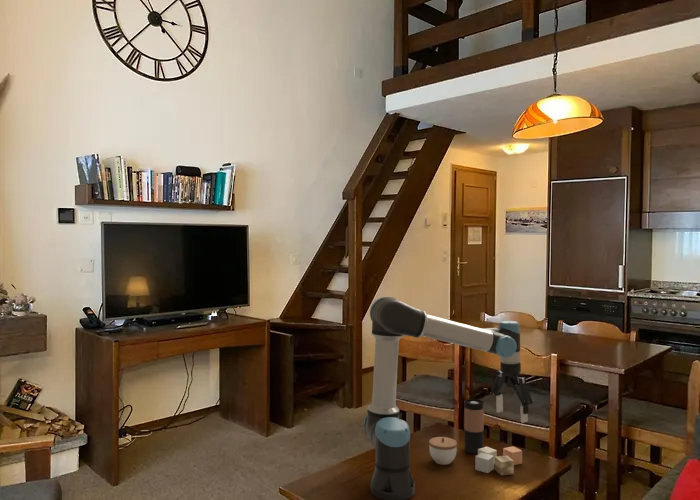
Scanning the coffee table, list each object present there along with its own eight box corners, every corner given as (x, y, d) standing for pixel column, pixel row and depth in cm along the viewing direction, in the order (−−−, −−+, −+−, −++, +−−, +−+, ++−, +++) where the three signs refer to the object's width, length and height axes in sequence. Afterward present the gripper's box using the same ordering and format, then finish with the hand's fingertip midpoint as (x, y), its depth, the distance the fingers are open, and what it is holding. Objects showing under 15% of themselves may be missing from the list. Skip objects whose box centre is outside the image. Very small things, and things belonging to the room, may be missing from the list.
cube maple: (500, 475, 200) (501, 461, 200) (494, 469, 205) (494, 456, 205) (513, 474, 201) (513, 460, 201) (507, 468, 206) (507, 455, 206)
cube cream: (488, 466, 208) (488, 453, 208) (477, 461, 212) (477, 449, 212) (496, 463, 211) (496, 450, 211) (486, 458, 215) (486, 446, 215)
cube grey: (487, 473, 202) (487, 459, 202) (475, 469, 205) (475, 456, 205) (493, 468, 205) (493, 455, 205) (481, 465, 209) (481, 452, 209)
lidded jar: (455, 456, 217) (455, 433, 217) (458, 467, 206) (458, 443, 206) (428, 455, 218) (428, 432, 218) (429, 466, 207) (429, 442, 207)
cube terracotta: (512, 465, 208) (512, 452, 208) (503, 461, 213) (503, 448, 213) (522, 463, 210) (522, 450, 210) (513, 458, 215) (513, 446, 215)
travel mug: (460, 448, 225) (460, 400, 225) (475, 445, 229) (475, 397, 228) (471, 455, 218) (472, 405, 218) (487, 451, 222) (487, 402, 221)
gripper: (541, 367, 200) (543, 424, 200) (496, 354, 222) (497, 406, 223) (526, 369, 197) (527, 428, 197) (481, 356, 219) (482, 409, 220)
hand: (511, 416), depth 210 cm, fingers open, 13 cm apart
